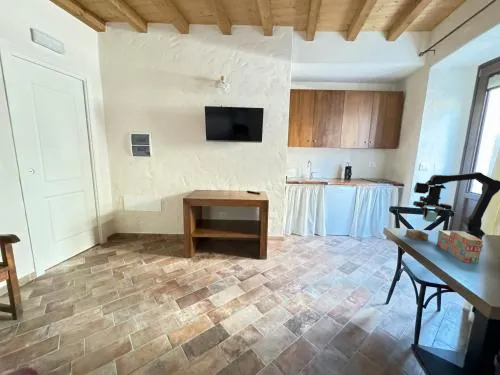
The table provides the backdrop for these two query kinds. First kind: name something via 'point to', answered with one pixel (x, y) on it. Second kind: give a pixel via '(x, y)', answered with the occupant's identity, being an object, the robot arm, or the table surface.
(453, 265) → the table surface
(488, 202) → the robot arm
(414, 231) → the walnut base block
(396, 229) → the table surface
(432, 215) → the teal block
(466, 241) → the stack of blocks
